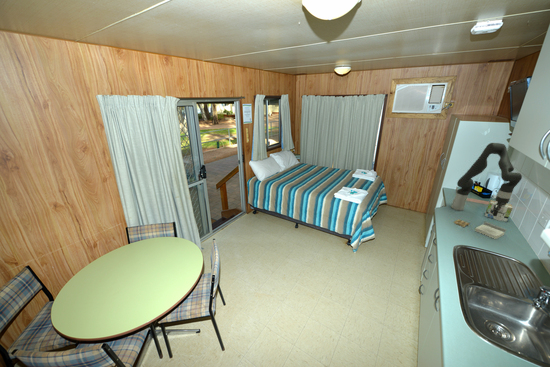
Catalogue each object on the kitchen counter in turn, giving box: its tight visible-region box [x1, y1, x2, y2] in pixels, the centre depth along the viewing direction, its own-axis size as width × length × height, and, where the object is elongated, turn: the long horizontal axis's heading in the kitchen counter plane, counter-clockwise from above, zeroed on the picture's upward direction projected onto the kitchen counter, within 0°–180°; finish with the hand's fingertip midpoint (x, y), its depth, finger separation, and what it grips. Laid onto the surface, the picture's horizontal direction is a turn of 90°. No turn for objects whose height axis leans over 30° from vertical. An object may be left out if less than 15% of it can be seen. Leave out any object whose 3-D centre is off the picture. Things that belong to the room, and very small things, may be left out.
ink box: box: [487, 203, 508, 222], centre depth 176 cm, size 8×5×12 cm, turn 25°
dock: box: [474, 221, 507, 240], centre depth 183 cm, size 14×14×5 cm
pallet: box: [453, 218, 470, 228], centre depth 197 cm, size 8×8×2 cm
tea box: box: [484, 199, 513, 223], centre depth 204 cm, size 15×10×15 cm, turn 47°
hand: (496, 214), depth 177 cm, fingers closed on ink box, 5 cm apart
